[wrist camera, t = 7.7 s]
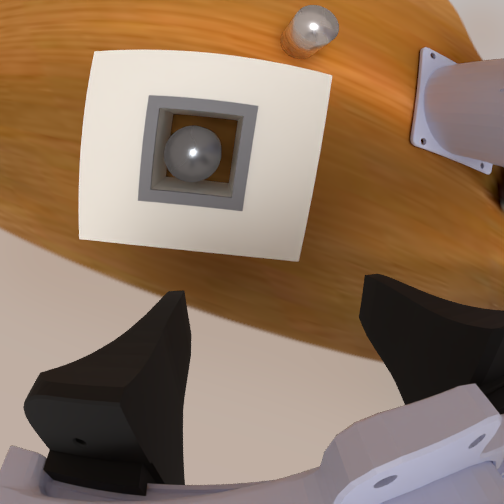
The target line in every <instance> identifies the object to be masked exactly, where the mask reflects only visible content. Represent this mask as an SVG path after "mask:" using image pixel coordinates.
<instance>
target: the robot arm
mask: <svg viewBox="0 0 504 504" xmlns="http://www.w3.org/2000/svg"><path fill="white" fill-rule="evenodd" d="M431 55H432V56H433V58H432V57H431ZM421 139H423V144H421ZM410 140H411V143H412V144H413V145H414V146H416V147H419V148H422V149H425V150H428V151H430V152H433V153H436V154H439V155H441V156H444V157H446V158H449V159H452V160H454V161H457V162H459V163H461V164H464V165H466V166H469V167H471V168H473V169H476V170H478V171H480V172H482V173H485V174H490V173H491V171H492V165H493V164H494V165H498V166H502V167H504V59H493V60H484V61H476V62H469V63H462V64H457V63H455V62H453V61H452V60H450V59H448V58H446V57H445V56H443V55H441V54H439V53H437V52H435V51H433V50H431V49H429V48H427V47H425V48H422V49H421V51H420V63H419V75H418V85H417V94H416V102H415V110H414V117H413V124H412V131H411V137H410ZM480 165H481V167H480ZM359 319H360V321H361V323H362V326H363V328H364V330H365V332H366V335H367V337H368V338H369V340H370V341H371V343H372V345H373V346H374V348H375V349H376V351H377V353H378V354H379V356H380V357H381V359H382V360H383V362H384V364H385V365H386V367H387V368H388V370H389V371H390V373H391V375H392V377H393V379H394V380H395V382H396V385H397V387H398V389H399V391H400V394H401V396H402V398H403V401H404V403H405V405H404V406H401V407H398V408H394V409H391V410H387V411H384V412H380V413H377V414H374V415H372V416H370V417H367V418H364V419H362V420H360V421H357V422H355V423H353V424H352V425H350V426H349V427H348V428H346V429H345V430H343V431H342V432H340V433H339V434H337V435H336V436H335V438H334V439H333V441H332V442H331V443H330V445H329V446H328V448H327V449H326V451H325V452H324V455H323V459H322V462H321V465H320V466H319V467H316V468H313V469H310V470H307V471H304V472H301V473H298V474H294V475H291V476H288V477H285V478H280V479H277V480H270V481H261V482H251V483H239V484H222V485H185V480H184V463H183V405H184V396H185V390H186V383H187V377H188V370H189V363H190V357H191V330H190V324H189V318H188V312H187V306H186V299H185V293H184V291H169V292H168V293H166V294H165V295H164V296H163V297H162V299H161V300H160V301H159V302H158V303H157V304H156V305H155V306H154V307H153V308H152V309H151V310H150V311H149V312H148V313H147V314H146V315H145V316H144V317H143V318H141V319H140V320H139V321H138V322H137V323H136V324H135V325H134V326H132V327H131V328H130V329H129V330H128V331H126V332H125V333H124V334H122V335H121V336H120V337H118V338H117V339H116V340H114V341H112V342H111V343H109V344H108V345H106V346H104V347H103V348H101V349H99V350H97V351H95V352H94V353H92V354H90V355H88V356H86V357H83V358H81V359H79V360H77V361H74V362H72V363H69V364H67V365H64V366H61V367H58V368H54V369H51V370H48V371H45V372H41V373H40V375H39V376H38V378H37V379H36V381H35V383H34V385H33V387H32V389H31V390H30V393H29V394H28V396H27V398H26V400H25V402H24V411H25V415H26V417H27V419H28V421H29V423H30V424H31V426H32V427H33V428H34V430H35V431H36V433H37V434H38V435H39V437H40V438H41V439H42V440H43V442H44V443H45V444H46V446H47V447H48V448H49V449H50V451H49V454H48V457H47V458H46V457H44V456H43V455H41V454H39V453H36V452H33V451H30V450H26V449H23V448H19V447H16V446H10V448H9V451H8V453H7V455H6V458H5V460H4V463H3V465H2V467H1V470H0V504H504V311H500V310H490V309H482V308H477V307H472V306H467V305H462V304H458V303H455V302H452V301H448V300H445V299H442V298H439V297H436V296H434V295H431V294H428V293H426V292H423V291H421V290H418V289H416V288H414V287H411V286H409V285H406V284H404V283H402V282H399V281H397V280H395V279H392V278H390V277H387V276H384V275H381V274H372V275H365V279H364V287H363V294H362V301H361V308H360V314H359Z"/></svg>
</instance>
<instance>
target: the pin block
mask: <svg viewBox="0 0 504 504" xmlns="http://www.w3.org/2000/svg"><path fill="white" fill-rule="evenodd" d="M331 81H332V75H329V74H325V73H321V72H317V71H313V70H309V69H305V68H300V67H296V66H291V65H286V64H281V63H276V62H270V61H265V60H259V59H253V58H246V57H239V56H231V55H223V54H214V53H203V52H190V51H173V50H113V51H95V52H94V56H93V61H92V67H91V72H90V78H89V84H88V90H87V97H86V104H85V112H84V120H83V130H82V140H81V154H80V172H79V239H84V240H94V241H103V242H112V243H122V244H131V245H141V246H150V247H160V248H170V249H179V250H189V251H199V252H208V253H218V254H228V255H238V256H248V257H258V258H268V259H278V260H288V261H298V262H299V257H300V253H301V248H302V243H303V239H304V234H305V229H306V224H307V219H308V214H309V209H310V204H311V199H312V194H313V188H314V183H315V178H316V172H317V167H318V161H319V156H320V150H321V144H322V138H323V132H324V126H325V120H326V114H327V108H328V101H329V95H330V88H331ZM173 114H181V115H193V116H203V117H213V118H222V119H230V120H237V121H238V123H237V130H236V137H235V143H234V150H233V157H232V164H231V171H230V178H229V183H223V182H215V181H206V180H202V181H199V182H185V181H182V180H179V179H177V178H175V177H166V171H167V167H166V164H165V161H164V149H165V145H166V143H167V141H168V139H169V138H170V135H171V128H172V120H173Z"/></svg>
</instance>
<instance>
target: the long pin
mask: <svg viewBox="0 0 504 504" xmlns="http://www.w3.org/2000/svg"><path fill="white" fill-rule="evenodd" d="M220 160H221V142H220V139H219V137H218V136H217V135H216V134H215V133H214V132H213V131H211V130H209V129H206V128H203V127H199V126H187V127H183V128H181V129H179V130H177V131H176V132H175V133H173V134H172V135H171V136H170V138H169V139H168V141H167V143H166V145H165V149H164V161H165V164H166V167H167V168H168V170H169V171H170V173H171V174H172V175H173V176H175V177H176V178H177V179H179V180H182V181H185V182H199V181H202V180H204V179H206V178H208V177H209V176H211V175H212V174H213V173H214V172H215V170H216V169H217V167H218V165H219V163H220Z"/></svg>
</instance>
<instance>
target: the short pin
mask: <svg viewBox="0 0 504 504" xmlns="http://www.w3.org/2000/svg"><path fill="white" fill-rule="evenodd" d="M338 31H339V24H338V21H337V19H336V17H335V16H334V15H333V14H332V13H331V12H330V11H329V10H327V9H326V8H324V7H321V6H317V5H309V6H305V7H303V8H301V9H300V10H299V11H298V12H297V14H296V15H295V17H294V18H293V19H292V21H291V22H290V24H289V25H288V26H287V28H286V29H285V31H284V32H283V34H282V36H281V40H280V41H281V46H282V48H283V50H284V51H285V52H286V53H287V54H288V55H290V56H291V57H294V58H297V59H305V58H308V57H310V56H312V55H313V54H314V53H316V52H317V51H318V50H320V49H321V48H322V47H324V46H325V45H326V44H328V43H329V42H330V41H332V40H333V39H334V38H335V37H336V36H337V34H338Z"/></svg>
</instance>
